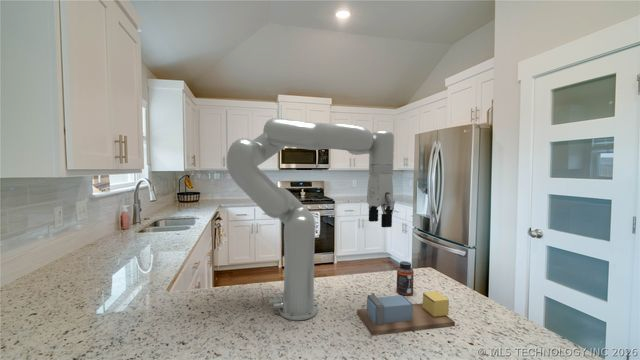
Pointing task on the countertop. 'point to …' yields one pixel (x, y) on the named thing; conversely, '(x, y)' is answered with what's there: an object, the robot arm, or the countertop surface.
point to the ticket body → (389, 309)
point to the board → (407, 322)
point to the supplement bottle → (405, 278)
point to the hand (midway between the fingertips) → (379, 224)
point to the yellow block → (435, 304)
